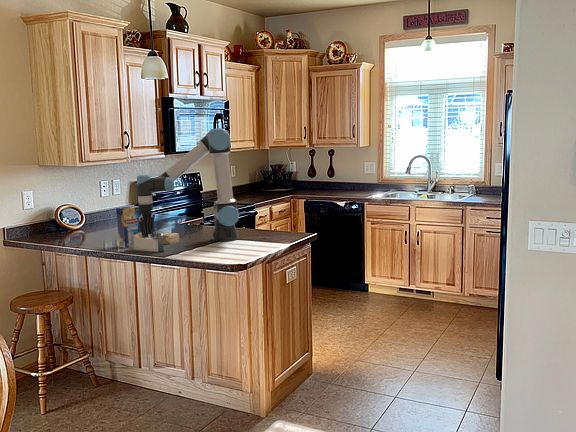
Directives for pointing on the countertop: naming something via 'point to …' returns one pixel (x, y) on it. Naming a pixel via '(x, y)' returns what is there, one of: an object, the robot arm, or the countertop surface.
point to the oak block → (170, 238)
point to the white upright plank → (145, 243)
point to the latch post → (131, 240)
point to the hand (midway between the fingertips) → (148, 245)
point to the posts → (160, 244)
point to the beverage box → (127, 224)
